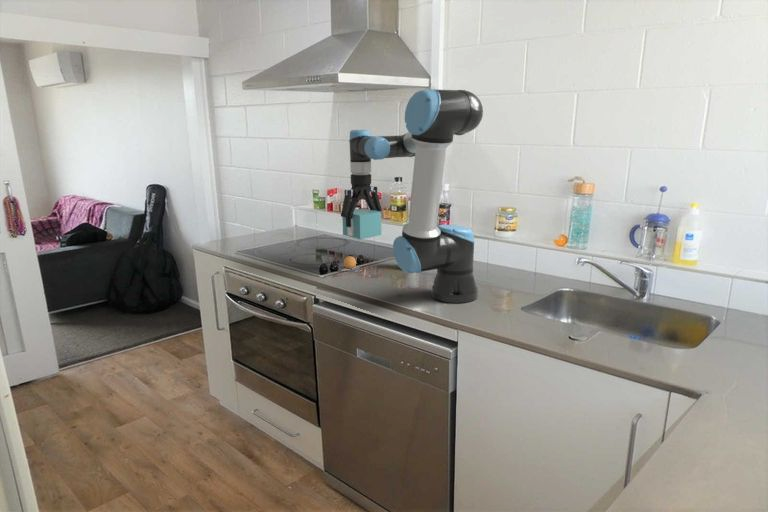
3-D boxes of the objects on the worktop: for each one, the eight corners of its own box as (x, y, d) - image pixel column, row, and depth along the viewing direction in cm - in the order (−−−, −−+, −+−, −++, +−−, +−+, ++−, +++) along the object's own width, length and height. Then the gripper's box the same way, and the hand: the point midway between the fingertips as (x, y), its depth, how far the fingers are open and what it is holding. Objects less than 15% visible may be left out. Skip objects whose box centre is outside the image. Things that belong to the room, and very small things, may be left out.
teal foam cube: (381, 234, 194) (381, 211, 192) (360, 239, 188) (359, 215, 185) (363, 230, 202) (363, 208, 199) (343, 234, 195) (342, 211, 193)
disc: (366, 267, 206) (366, 266, 206) (342, 273, 198) (342, 272, 198) (347, 261, 214) (347, 261, 214) (323, 267, 207) (323, 266, 207)
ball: (349, 256, 207) (352, 268, 207) (339, 258, 203) (342, 270, 204) (357, 254, 203) (360, 266, 203) (347, 256, 200) (350, 269, 200)
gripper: (377, 170, 199) (378, 226, 204) (329, 175, 184) (331, 236, 190) (390, 171, 193) (391, 229, 199) (342, 177, 179) (344, 239, 184)
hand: (362, 233), depth 194 cm, fingers closed on teal foam cube, 10 cm apart
